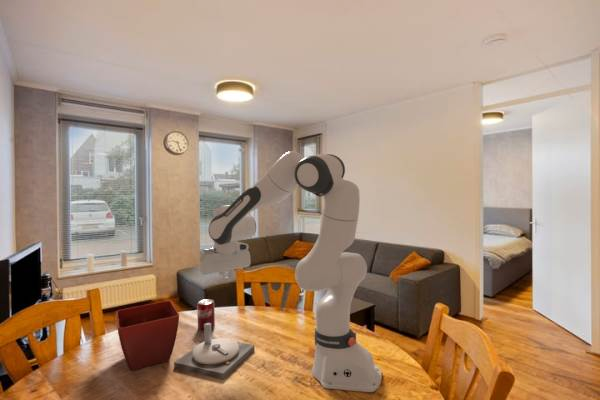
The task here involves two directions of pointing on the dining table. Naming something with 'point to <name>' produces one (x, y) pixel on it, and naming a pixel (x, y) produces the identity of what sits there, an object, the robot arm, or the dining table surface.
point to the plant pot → (147, 333)
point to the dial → (214, 349)
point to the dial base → (214, 369)
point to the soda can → (205, 313)
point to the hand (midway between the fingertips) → (226, 281)
